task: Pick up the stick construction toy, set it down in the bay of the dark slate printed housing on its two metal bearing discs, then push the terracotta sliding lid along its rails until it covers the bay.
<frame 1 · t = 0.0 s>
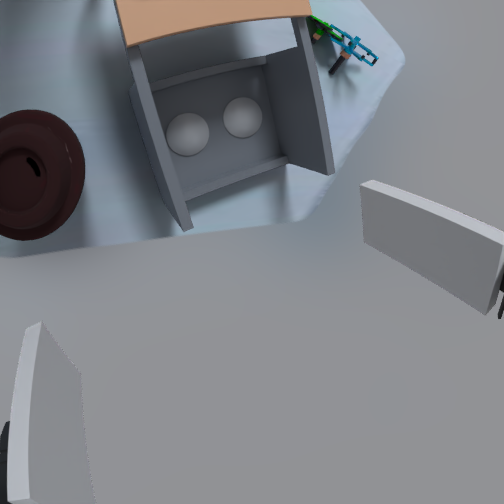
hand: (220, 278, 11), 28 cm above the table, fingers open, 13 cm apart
coffee cup: (52, 156, 30), on the table
housing: (213, 125, 36), on the table
stick construction toy: (325, 46, 38), on the table
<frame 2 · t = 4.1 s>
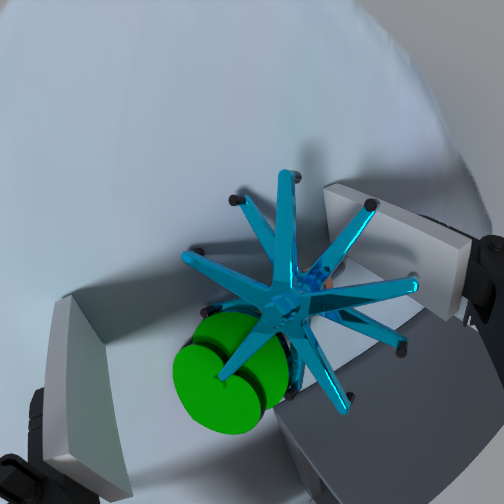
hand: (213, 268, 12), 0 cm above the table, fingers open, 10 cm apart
housing: (361, 412, 24), on the table
stick construction toy: (255, 295, 14), on the table
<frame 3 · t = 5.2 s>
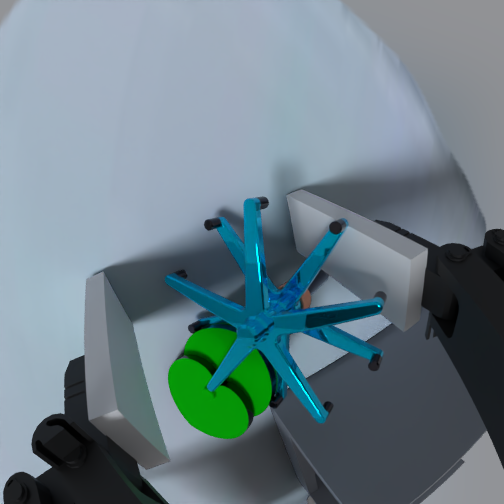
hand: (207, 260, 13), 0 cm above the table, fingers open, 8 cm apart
housing: (357, 408, 24), on the table
stick construction toy: (242, 307, 15), on the table
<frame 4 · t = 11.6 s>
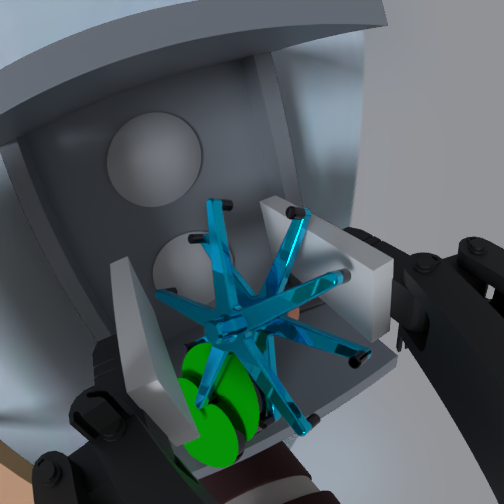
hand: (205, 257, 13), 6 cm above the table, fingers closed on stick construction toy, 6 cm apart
coffee cup: (213, 416, 27), on the table
housing: (171, 214, 18), on the table
stick construction toy: (242, 332, 14), point 7 cm above the table, touching gripper
when the fingers open (2 cm above the table, at t = 13.0 s): stick construction toy stays where it is, resting on housing.
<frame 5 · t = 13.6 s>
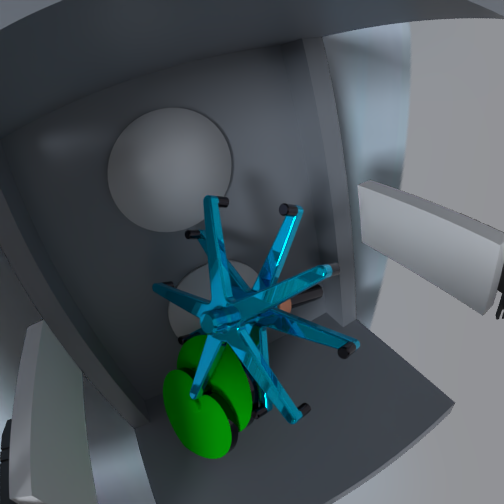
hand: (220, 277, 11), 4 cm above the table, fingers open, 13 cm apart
housing: (191, 239, 15), on the table
stick construction toy: (236, 326, 15), point 2 cm above the table, touching housing
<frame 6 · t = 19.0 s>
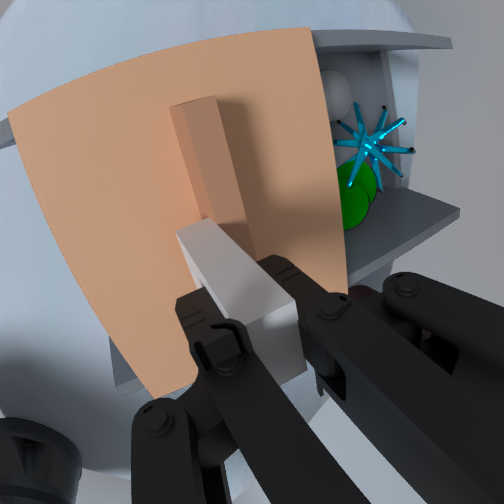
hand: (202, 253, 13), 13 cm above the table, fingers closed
coffee cup: (324, 298, 38), on the table
housing: (331, 130, 29), on the table
lid: (224, 235, 14), point 13 cm above the table, slide at 16.0 cm, touching gripper
stick construction toy: (353, 171, 29), point 2 cm above the table, touching housing
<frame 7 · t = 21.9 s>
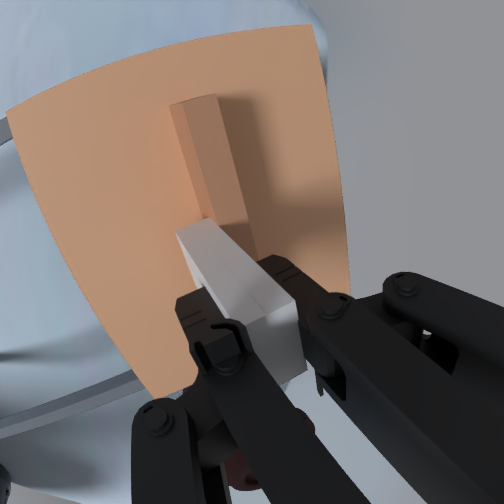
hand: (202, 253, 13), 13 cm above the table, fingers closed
coffee cup: (208, 357, 33), on the table
housing: (179, 178, 25), on the table
lid: (225, 235, 14), point 13 cm above the table, slide at 0.7 cm, touching gripper
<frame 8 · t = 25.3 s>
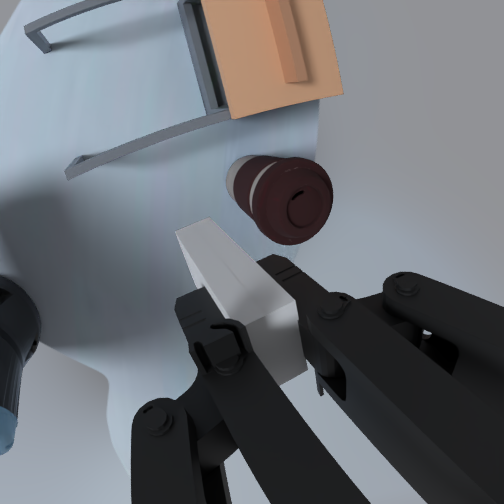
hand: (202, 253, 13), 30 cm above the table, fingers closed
coffee cup: (247, 179, 46), on the table
housing: (240, 47, 37), on the table
lid: (281, 29, 27), point 13 cm above the table, slide at 0.7 cm
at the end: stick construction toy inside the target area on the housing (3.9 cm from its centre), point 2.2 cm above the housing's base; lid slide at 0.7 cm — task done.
